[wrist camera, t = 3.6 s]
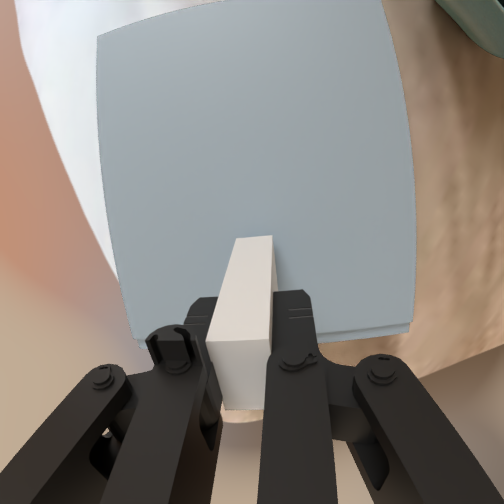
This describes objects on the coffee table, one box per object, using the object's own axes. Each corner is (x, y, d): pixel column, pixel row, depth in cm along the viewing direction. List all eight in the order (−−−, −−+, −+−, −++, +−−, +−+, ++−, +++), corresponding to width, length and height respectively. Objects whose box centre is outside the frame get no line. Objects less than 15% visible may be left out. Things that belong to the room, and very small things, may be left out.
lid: (117, 49, 14) (97, 36, 12) (368, 14, 13) (379, -6, 10) (152, 332, 18) (136, 352, 16) (397, 316, 17) (411, 335, 14)
